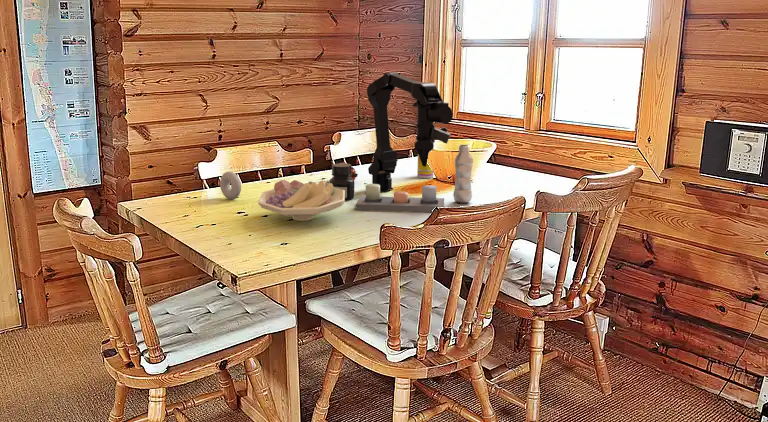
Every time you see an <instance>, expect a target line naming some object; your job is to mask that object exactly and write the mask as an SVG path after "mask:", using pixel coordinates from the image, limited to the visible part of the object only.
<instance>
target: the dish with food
mask: <svg viewBox="0 0 768 422" xmlns="http://www.w3.org/2000/svg"><path fill="white" fill-rule="evenodd" d="M345 201H346V200H345V190H342V189H338V188H334V187H333V185H332V183H331V184H330V183H329V182H326V181H324V180H323V179H322V180H320V181H319V182H318V183H317V182H316V181H315V182H313V181H308V182H307V183H303V182H300V181H299V180H296V179H293V180H292V181H291V182H290V181H288V180H286V179H282V180H279V181H277V182H275V183H274V186H273V188H272V189H269V190H265V191H263V192H261V195H260V197H259V199H258V201H257V204H258V205H259V207H260V208H261V209H264V210H267V211H270V212H272V213H273V212H274V213H276V214H280V215H283V216H286V217H292V219H293V220H295V221H297V222H299V221H300V222H301V221H302V222H303V221H309V220H313V219H314V217H315V216H316V215H317V216H318V215H319V214H323V213H326V212H329V211H333V210H335V209H337V208H340V207H341V206H343V204H344V203H345Z"/></svg>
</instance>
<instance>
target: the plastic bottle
mask: <svg viewBox="0 0 768 422" xmlns="http://www.w3.org/2000/svg"><path fill="white" fill-rule="evenodd" d="M470 148H471V147H470V145H469V144H459V145H458V151H459V152H458V153H457V155H456V156H455V158H454V160H453V161H454V168H455V172H454V173H455V181H454V182H455V183H454V190H453V194H452V197H453V200H454V202H457V203H461V204H464V203H470V202H471V201H472V197H473V193H472V192H473V191H472V181H471V180H472V179H471V178H472V177H471V176H472V170H473V164H474V159H473V156H472V155H471V154H470Z"/></svg>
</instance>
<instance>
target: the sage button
mask: <svg viewBox="0 0 768 422" xmlns="http://www.w3.org/2000/svg"><path fill="white" fill-rule="evenodd" d="M365 196H366V199H369V200H377V199H380V197H381V192H380V185H379V184H372V183H368V184H365Z"/></svg>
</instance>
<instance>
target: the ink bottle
mask: <svg viewBox="0 0 768 422" xmlns="http://www.w3.org/2000/svg"><path fill="white" fill-rule="evenodd" d="M345 163H346V162H339V163H333V164H331V176H332V177H331V178H330V179H329V180H328V183H330V184H331V183H332V185H333V187H334V188H338V189H342V190H345V201H350V200H351V201H352V200H353V199H354V198H355V180H354V179H353V178H352V177H350V176H351V166H352V164H350V163H347V164H345Z"/></svg>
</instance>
